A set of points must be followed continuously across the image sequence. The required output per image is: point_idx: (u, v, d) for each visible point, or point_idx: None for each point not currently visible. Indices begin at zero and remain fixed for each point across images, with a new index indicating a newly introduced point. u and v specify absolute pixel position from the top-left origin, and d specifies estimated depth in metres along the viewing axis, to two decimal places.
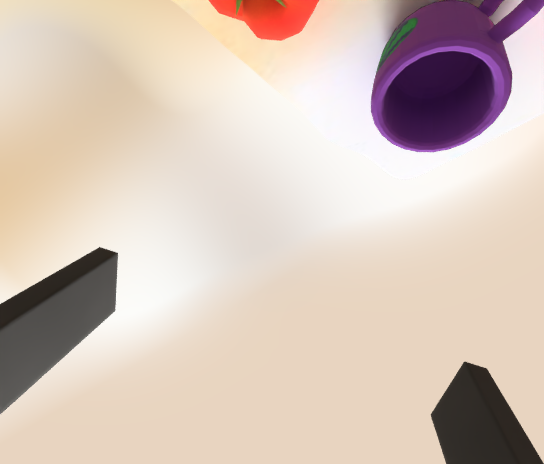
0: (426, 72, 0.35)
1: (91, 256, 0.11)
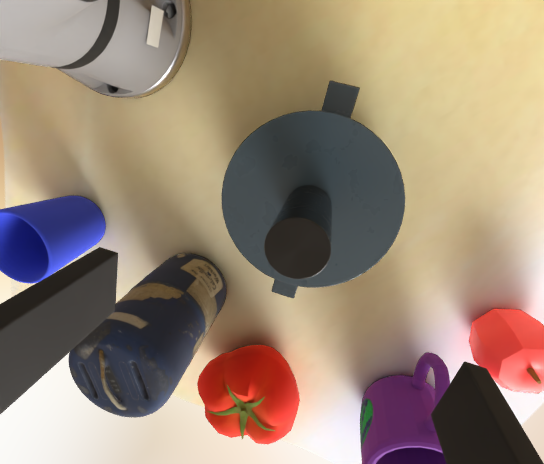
0: None
1: (92, 256, 0.11)
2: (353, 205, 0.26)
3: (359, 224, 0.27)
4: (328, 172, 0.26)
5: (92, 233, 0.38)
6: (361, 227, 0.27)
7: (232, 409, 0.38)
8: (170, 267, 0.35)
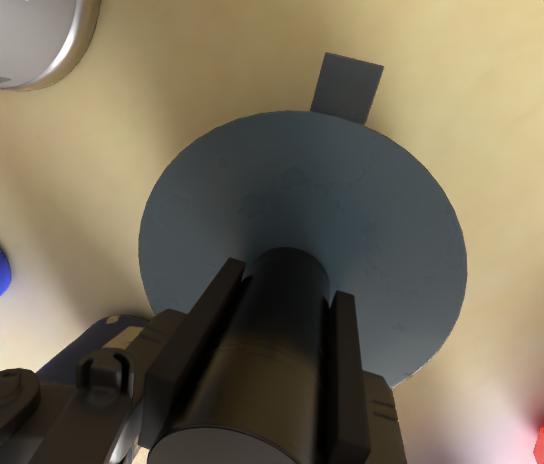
0: None
1: (228, 265, 0.13)
2: (369, 284, 0.14)
3: (379, 316, 0.15)
4: (323, 226, 0.14)
5: None
6: (382, 321, 0.15)
7: None
8: (87, 345, 0.24)
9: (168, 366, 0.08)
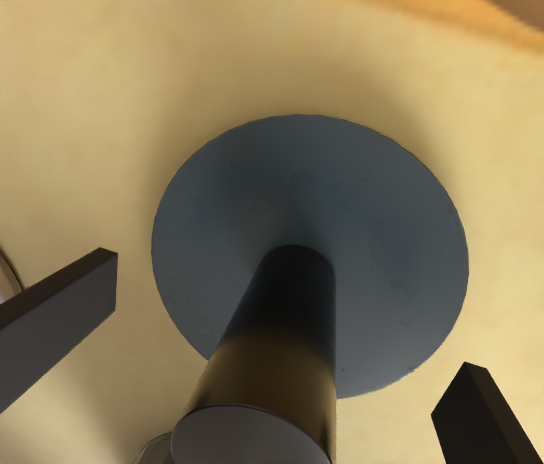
0: None
1: (91, 256, 0.11)
2: (373, 281, 0.15)
3: (383, 311, 0.15)
4: (330, 224, 0.14)
5: None
6: (387, 316, 0.15)
7: None
8: None
9: None
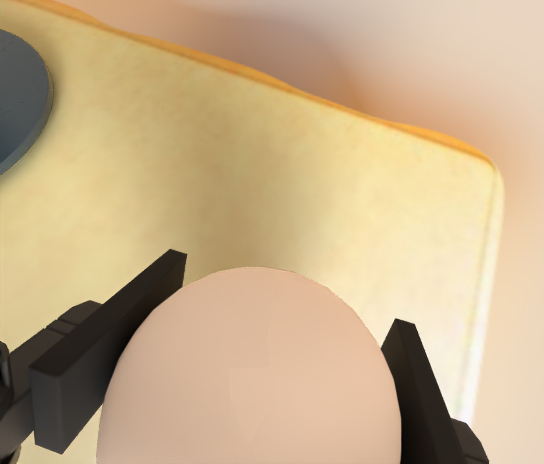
0: None
1: (166, 257, 0.12)
2: None
3: None
4: None
5: None
6: None
7: None
8: None
9: (58, 359, 0.07)
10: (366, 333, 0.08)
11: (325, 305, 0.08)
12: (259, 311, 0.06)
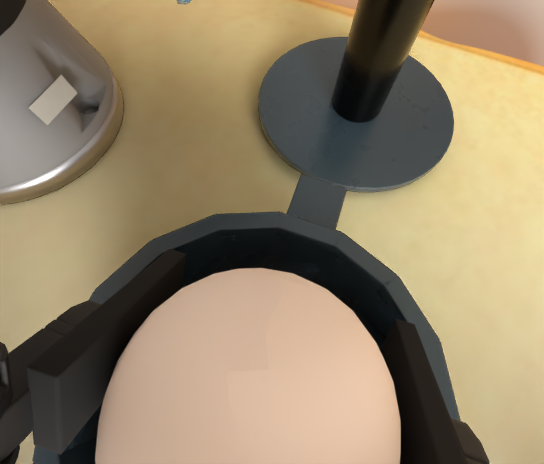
0: None
1: (165, 257, 0.12)
2: (402, 104, 0.25)
3: (411, 120, 0.25)
4: None
5: None
6: (414, 123, 0.24)
7: None
8: None
9: (57, 359, 0.07)
10: (365, 335, 0.08)
11: (324, 307, 0.08)
12: (259, 314, 0.06)
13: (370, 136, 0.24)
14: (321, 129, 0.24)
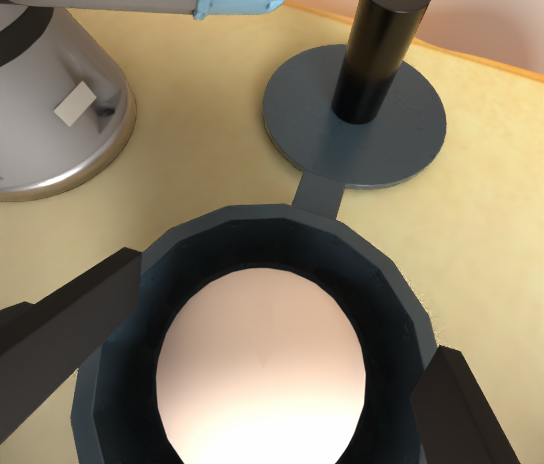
0: None
1: (118, 255, 0.12)
2: (398, 107, 0.27)
3: (407, 123, 0.26)
4: None
5: None
6: (409, 125, 0.26)
7: None
8: None
9: None
10: (339, 313, 0.12)
11: (311, 293, 0.11)
12: (268, 296, 0.10)
13: (368, 137, 0.25)
14: (322, 131, 0.25)
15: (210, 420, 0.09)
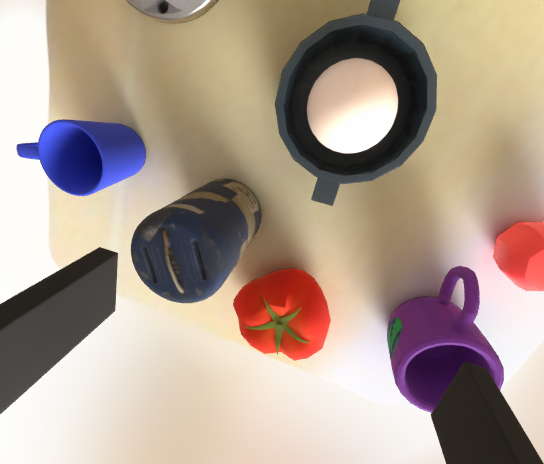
0: None
1: (91, 256, 0.11)
2: None
3: None
4: None
5: (136, 157, 0.40)
6: None
7: (268, 324, 0.40)
8: (212, 184, 0.37)
9: None
10: (387, 80, 0.27)
11: (374, 74, 0.26)
12: (355, 79, 0.26)
13: None
14: None
15: (336, 125, 0.27)
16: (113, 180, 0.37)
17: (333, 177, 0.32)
